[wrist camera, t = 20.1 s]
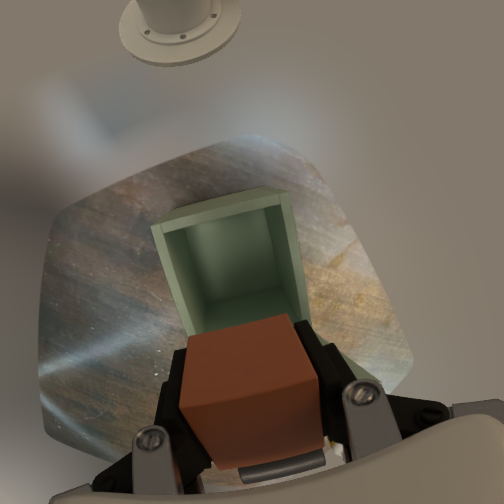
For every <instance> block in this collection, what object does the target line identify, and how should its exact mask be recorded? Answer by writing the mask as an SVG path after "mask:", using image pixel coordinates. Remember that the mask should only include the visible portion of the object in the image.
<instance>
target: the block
mask: <svg viewBox="0 0 504 504" xmlns="http://www.w3.org/2000/svg"><path fill="white" fill-rule="evenodd" d="M179 409H180V410H181V412H182V414H183V416H184V417H185V419H186V421H187V422H188V424H189V425H190V427H191V429H192V430H193V432H194V433H195V435H196V437H197V438H198V440H199V441H200V443H201V444H202V446H203V447H204V449H205V450H206V452H207V453H208V455H209V456H210V458H211V459H212V460H213V462H214V463H215V465H216V466H217V467H218V469H219V470H227V469H234V468H240V467H246V466H252V465H257V464H262V463H267V462H272V461H276V460H281V459H285V458H289V457H293V456H297V455H300V454H304V453H307V452H311V451H314V450H317V449H321V448H323V447H325V442H324V433H323V423H322V413H321V403H320V394H319V383H318V376H317V374H316V372H315V370H314V368H313V366H312V364H311V362H310V360H309V358H308V356H307V354H306V352H305V349H304V347H303V345H302V343H301V341H300V339H299V337H298V335H297V333H296V331H295V329H294V327H293V325H292V323H291V321H290V319H289V317H288V315H287V314H286V313H284V314H281V315H277V316H273V317H269V318H265V319H262V320H258V321H254V322H250V323H245V324H241V325H237V326H233V327H229V328H224V329H220V330H215V331H211V332H206V333H202V334H197V335H192V336H189V338H188V344H187V351H186V357H185V364H184V371H183V378H182V385H181V393H180V401H179Z"/></svg>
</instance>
